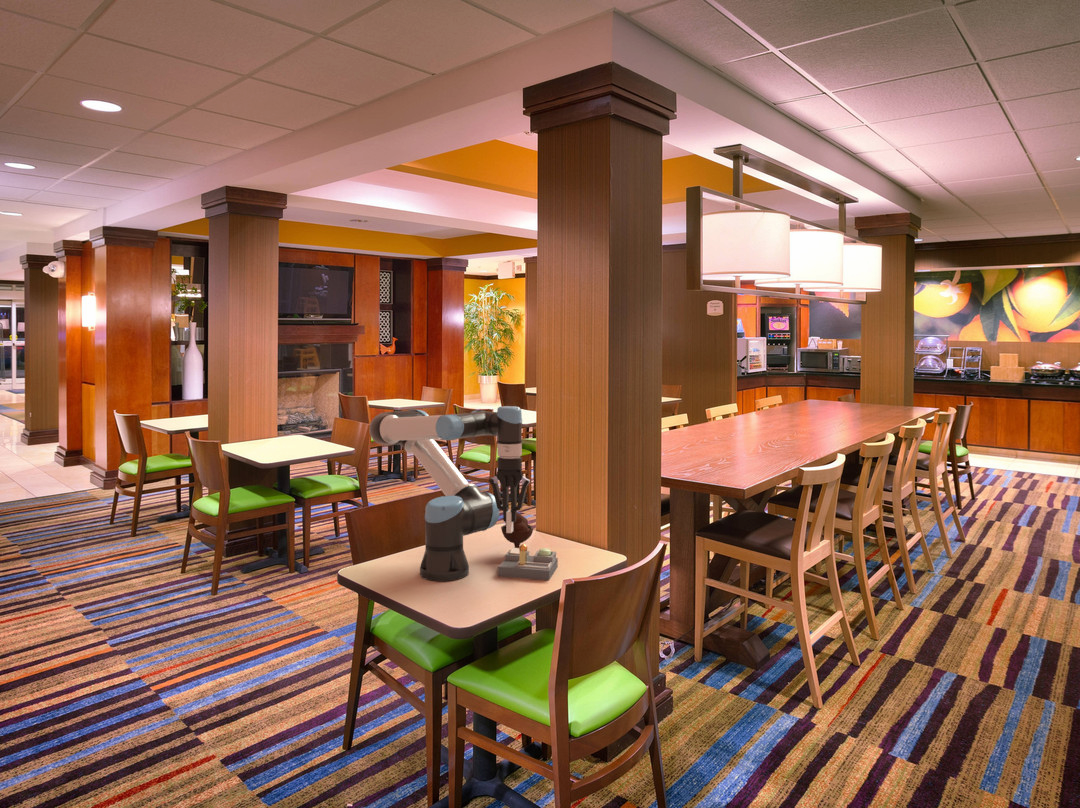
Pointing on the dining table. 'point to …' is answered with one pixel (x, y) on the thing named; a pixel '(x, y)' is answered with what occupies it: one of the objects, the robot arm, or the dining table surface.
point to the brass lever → (523, 554)
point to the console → (529, 566)
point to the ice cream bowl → (518, 531)
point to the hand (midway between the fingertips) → (509, 531)
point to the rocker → (514, 551)
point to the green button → (544, 552)
